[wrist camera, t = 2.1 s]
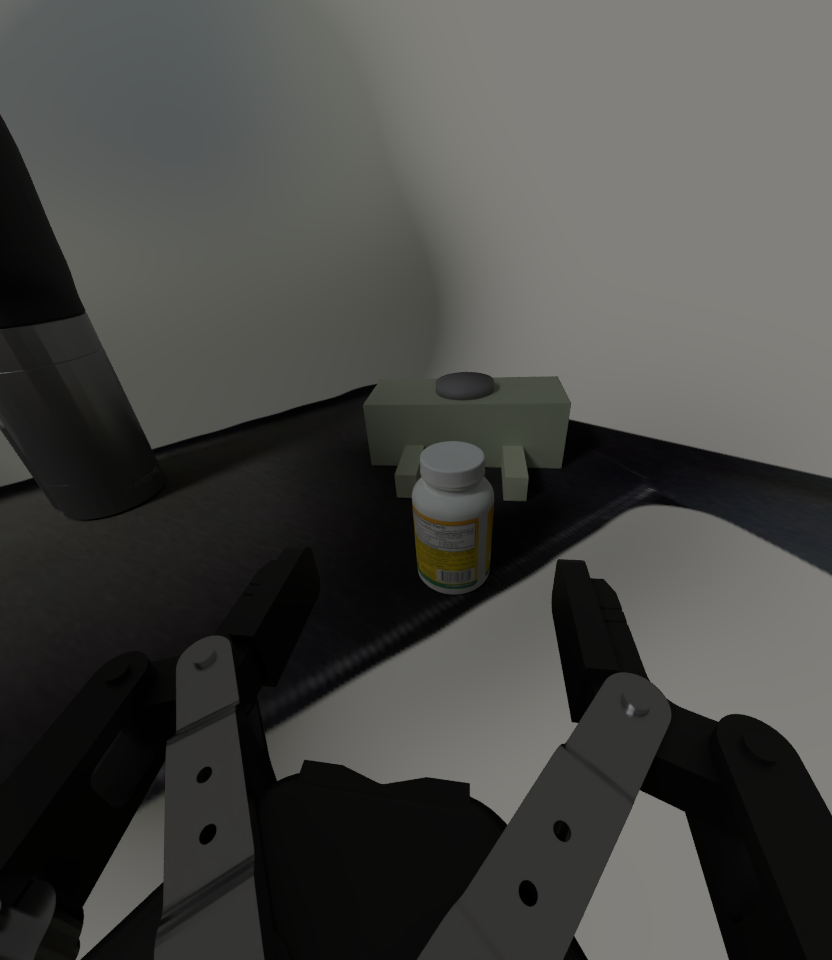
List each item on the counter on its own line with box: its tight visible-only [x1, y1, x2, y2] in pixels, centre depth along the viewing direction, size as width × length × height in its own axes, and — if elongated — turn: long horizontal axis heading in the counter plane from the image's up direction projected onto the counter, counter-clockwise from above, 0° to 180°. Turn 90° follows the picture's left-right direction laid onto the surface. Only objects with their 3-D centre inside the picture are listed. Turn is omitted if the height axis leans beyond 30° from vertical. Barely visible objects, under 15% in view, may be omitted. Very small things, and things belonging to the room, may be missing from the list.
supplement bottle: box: [412, 441, 494, 595], centre depth 26 cm, size 5×5×10 cm
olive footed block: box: [363, 372, 571, 501], centre depth 40 cm, size 20×14×8 cm
